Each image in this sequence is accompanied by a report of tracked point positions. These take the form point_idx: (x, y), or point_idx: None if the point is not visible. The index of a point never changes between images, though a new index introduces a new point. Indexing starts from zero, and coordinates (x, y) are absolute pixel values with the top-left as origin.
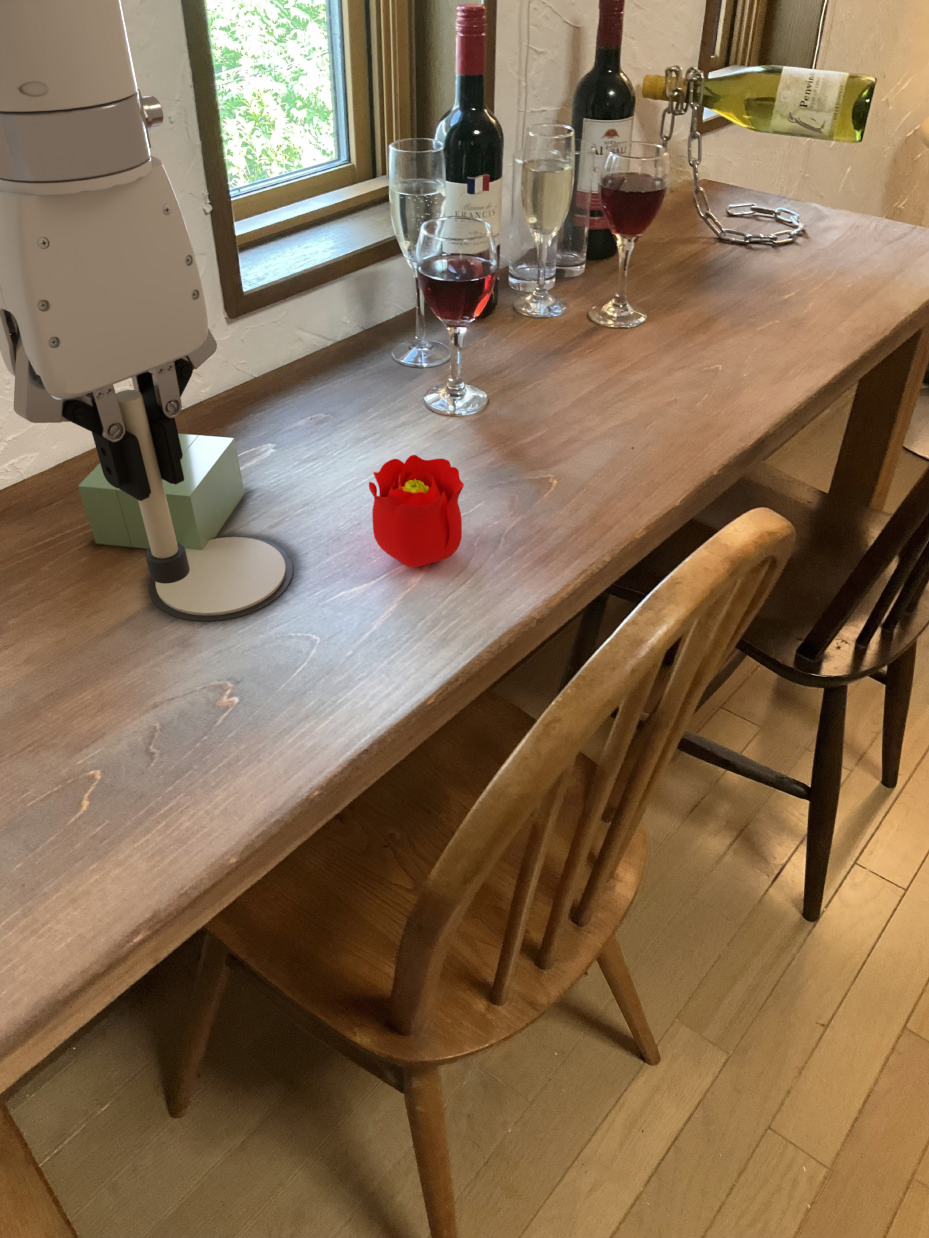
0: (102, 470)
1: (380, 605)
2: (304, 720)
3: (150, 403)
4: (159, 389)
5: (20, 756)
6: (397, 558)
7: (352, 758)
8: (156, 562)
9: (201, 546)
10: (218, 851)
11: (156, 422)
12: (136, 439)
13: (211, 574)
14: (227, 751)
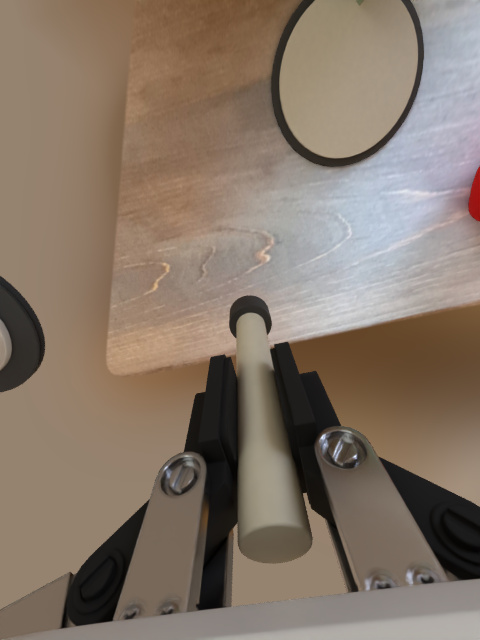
0: (194, 399)
1: (412, 227)
2: (292, 301)
3: (320, 504)
4: (345, 587)
5: (123, 219)
6: (470, 201)
7: (295, 341)
8: (235, 336)
9: (361, 1)
10: (208, 353)
11: (304, 485)
12: None
13: (339, 74)
14: None
